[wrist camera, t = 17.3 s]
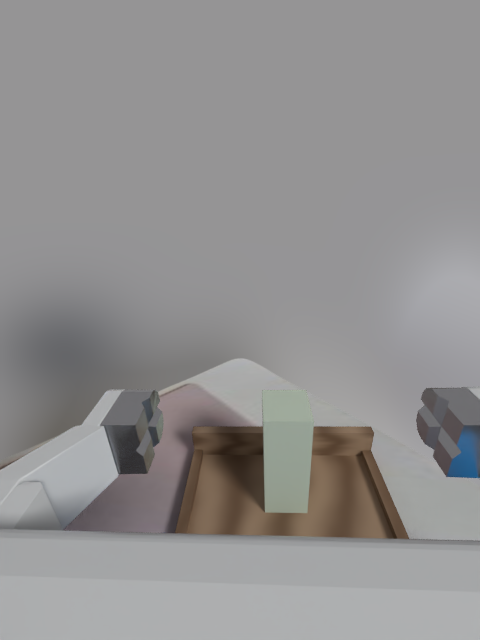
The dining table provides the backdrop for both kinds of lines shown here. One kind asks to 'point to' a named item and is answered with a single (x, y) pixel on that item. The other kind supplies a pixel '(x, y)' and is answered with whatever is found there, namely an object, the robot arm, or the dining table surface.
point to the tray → (324, 489)
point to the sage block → (287, 450)
